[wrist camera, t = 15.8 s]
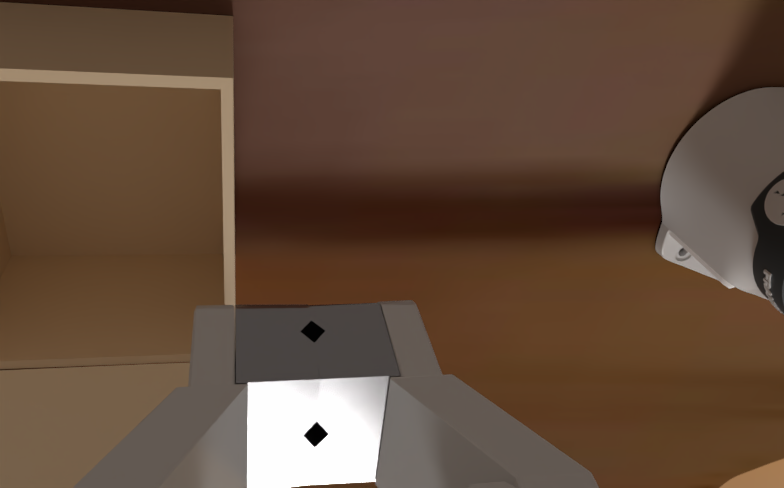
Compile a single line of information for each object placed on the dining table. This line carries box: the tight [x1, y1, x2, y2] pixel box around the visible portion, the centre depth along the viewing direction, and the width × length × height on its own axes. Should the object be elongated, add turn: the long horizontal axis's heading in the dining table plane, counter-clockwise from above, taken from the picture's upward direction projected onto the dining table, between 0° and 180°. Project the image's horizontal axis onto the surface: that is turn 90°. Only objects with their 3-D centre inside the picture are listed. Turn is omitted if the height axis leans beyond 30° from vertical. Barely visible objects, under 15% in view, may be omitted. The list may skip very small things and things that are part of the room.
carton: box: [0, 2, 235, 369], centre depth 43 cm, size 18×16×12 cm
